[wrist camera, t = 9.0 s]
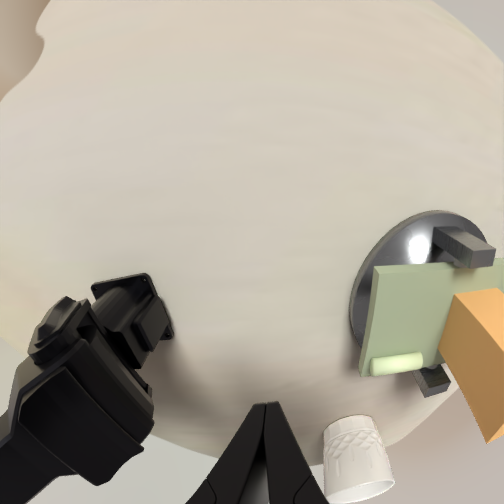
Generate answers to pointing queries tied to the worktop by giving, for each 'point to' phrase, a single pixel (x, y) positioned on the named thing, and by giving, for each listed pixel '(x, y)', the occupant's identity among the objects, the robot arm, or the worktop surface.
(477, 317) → the orange and green block
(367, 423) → the white cup
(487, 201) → the worktop surface
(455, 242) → the base
